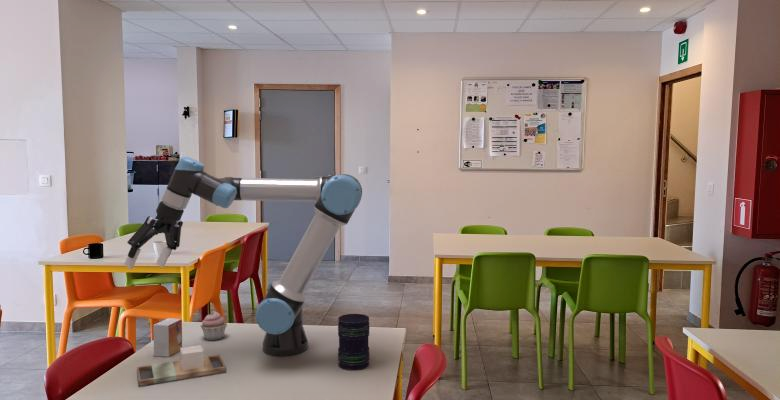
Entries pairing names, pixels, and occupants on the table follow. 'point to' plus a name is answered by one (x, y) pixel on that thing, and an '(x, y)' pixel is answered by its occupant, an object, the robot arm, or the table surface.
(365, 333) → the storage jar
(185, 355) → the block
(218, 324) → the cupcake
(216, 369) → the board
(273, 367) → the table surface
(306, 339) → the robot arm
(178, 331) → the small box
